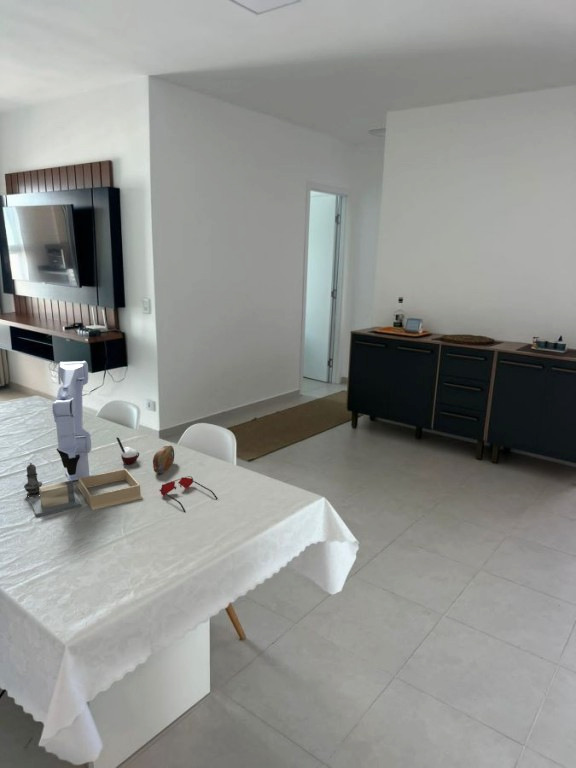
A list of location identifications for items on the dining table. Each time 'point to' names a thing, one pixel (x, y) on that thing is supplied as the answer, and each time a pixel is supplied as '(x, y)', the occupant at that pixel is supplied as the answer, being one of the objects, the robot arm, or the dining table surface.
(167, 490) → the glasses
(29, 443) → the dining table surface
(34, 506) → the slate board
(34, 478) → the salt shaker
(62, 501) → the capped box
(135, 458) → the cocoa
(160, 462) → the tin
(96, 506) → the wooden tray
